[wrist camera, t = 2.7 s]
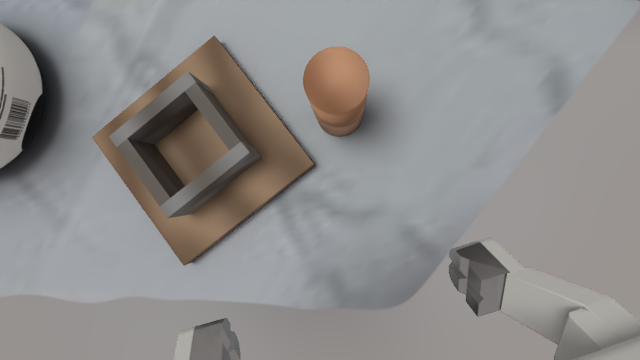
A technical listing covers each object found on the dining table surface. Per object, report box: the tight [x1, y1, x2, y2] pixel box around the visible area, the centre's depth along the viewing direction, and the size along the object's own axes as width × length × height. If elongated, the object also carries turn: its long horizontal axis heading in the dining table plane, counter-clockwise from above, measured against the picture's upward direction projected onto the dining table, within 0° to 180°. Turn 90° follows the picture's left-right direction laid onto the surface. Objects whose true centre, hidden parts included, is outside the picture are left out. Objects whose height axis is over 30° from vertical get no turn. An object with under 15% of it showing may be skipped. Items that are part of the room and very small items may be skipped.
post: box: [303, 47, 369, 136], centre depth 27 cm, size 4×4×10 cm
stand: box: [92, 36, 315, 265], centre depth 30 cm, size 16×16×6 cm
